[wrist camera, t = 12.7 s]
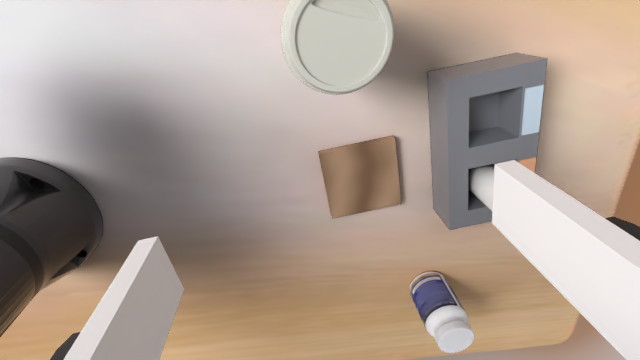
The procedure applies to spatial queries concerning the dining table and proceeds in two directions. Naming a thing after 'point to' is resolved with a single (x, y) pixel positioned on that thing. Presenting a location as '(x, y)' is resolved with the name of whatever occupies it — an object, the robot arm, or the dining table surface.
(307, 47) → the coffee cup
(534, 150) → the socket box
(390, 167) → the coaster
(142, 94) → the dining table surface
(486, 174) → the plug
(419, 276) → the pill bottle
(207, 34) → the dining table surface
